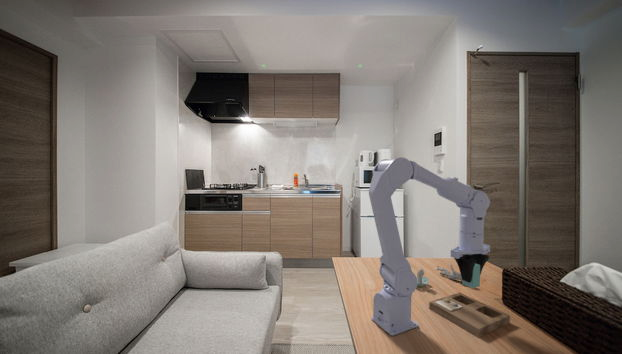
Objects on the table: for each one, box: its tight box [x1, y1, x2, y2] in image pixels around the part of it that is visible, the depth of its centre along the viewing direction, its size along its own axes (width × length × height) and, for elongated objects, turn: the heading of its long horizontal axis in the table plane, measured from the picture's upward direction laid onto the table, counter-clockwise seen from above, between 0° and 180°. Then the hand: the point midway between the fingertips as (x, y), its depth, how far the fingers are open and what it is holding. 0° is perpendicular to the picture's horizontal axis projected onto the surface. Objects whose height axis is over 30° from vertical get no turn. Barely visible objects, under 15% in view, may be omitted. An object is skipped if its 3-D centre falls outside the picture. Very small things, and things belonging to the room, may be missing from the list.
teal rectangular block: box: [461, 263, 481, 289], centre depth 69 cm, size 3×3×6 cm
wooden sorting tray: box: [428, 292, 511, 338], centre depth 70 cm, size 14×14×2 cm
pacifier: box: [416, 268, 429, 288], centre depth 89 cm, size 7×6×6 cm
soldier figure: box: [435, 263, 462, 282], centre depth 94 cm, size 8×5×12 cm
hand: (470, 279), depth 69 cm, fingers closed on teal rectangular block, 3 cm apart
